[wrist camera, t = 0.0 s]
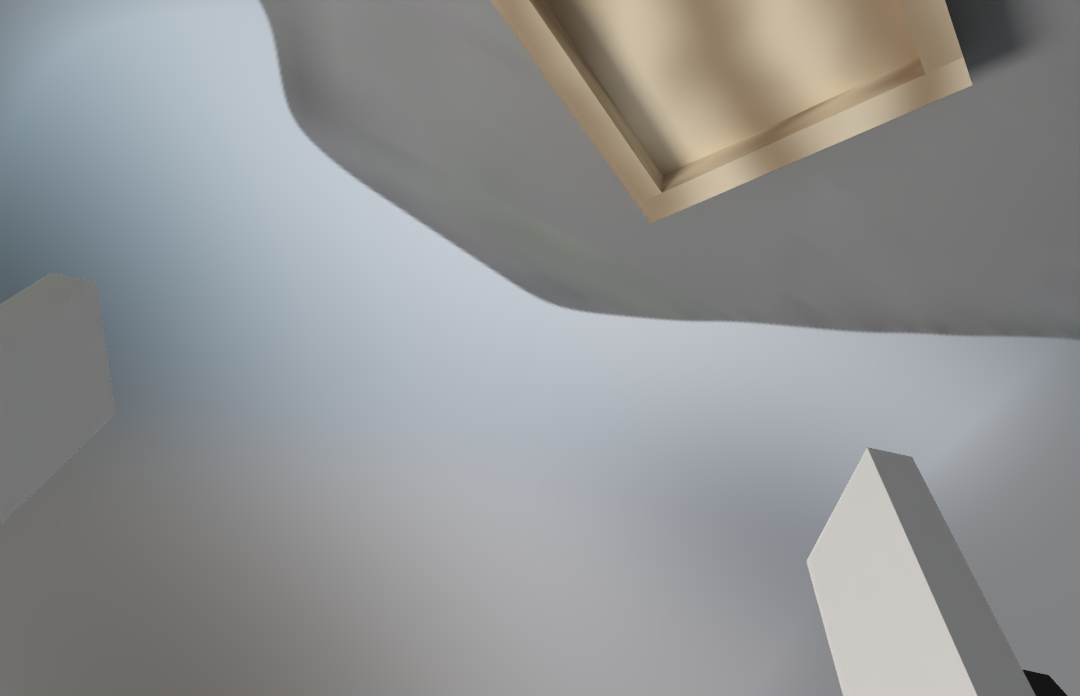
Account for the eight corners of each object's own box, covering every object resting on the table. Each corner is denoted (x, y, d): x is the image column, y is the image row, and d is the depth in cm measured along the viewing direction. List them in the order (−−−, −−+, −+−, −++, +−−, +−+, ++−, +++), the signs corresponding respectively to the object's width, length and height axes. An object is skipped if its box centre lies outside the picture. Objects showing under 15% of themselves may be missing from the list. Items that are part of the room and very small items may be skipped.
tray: (834, -328, 25) (842, -316, 23) (960, 56, 34) (972, 85, 32) (478, -56, 33) (466, -33, 32) (653, 195, 42) (650, 223, 41)
